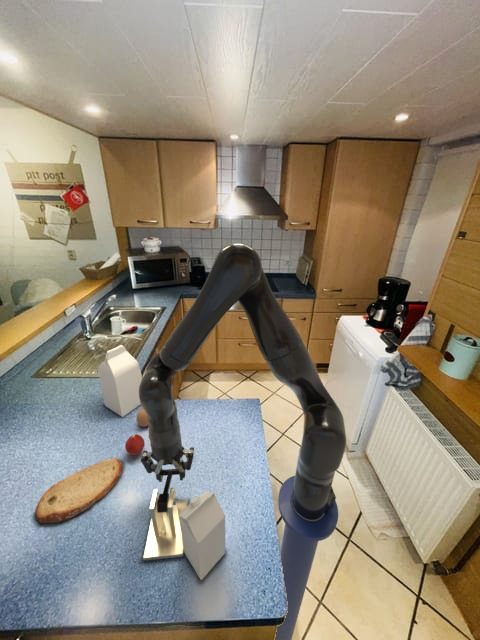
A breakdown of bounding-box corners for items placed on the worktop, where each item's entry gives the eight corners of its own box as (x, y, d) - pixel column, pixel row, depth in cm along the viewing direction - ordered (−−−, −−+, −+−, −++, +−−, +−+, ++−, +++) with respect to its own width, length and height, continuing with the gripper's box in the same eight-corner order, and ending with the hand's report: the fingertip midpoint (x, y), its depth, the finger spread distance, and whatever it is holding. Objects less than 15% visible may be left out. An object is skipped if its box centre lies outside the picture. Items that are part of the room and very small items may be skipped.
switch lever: (162, 474, 70) (161, 466, 70) (180, 473, 70) (180, 465, 70) (151, 513, 58) (150, 504, 58) (173, 511, 58) (172, 502, 58)
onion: (124, 452, 83) (120, 435, 80) (140, 442, 87) (137, 425, 84) (131, 464, 80) (127, 446, 76) (148, 452, 84) (145, 435, 80)
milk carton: (225, 553, 60) (225, 504, 52) (201, 581, 55) (196, 532, 47) (207, 527, 64) (204, 480, 57) (183, 551, 60) (176, 503, 52)
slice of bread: (127, 461, 80) (125, 453, 79) (96, 526, 64) (93, 518, 63) (72, 459, 81) (69, 451, 79) (27, 523, 64) (22, 515, 63)
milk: (122, 417, 97) (109, 360, 87) (104, 405, 103) (90, 351, 92) (147, 399, 107) (138, 346, 96) (130, 389, 112) (120, 338, 101)
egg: (154, 426, 93) (151, 412, 90) (138, 432, 91) (136, 417, 88) (151, 416, 98) (149, 403, 95) (137, 421, 95) (134, 407, 93)
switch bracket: (154, 505, 69) (148, 474, 64) (187, 502, 70) (184, 471, 65) (143, 560, 58) (135, 529, 53) (182, 556, 59) (178, 525, 54)
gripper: (194, 421, 67) (198, 463, 74) (140, 424, 66) (148, 467, 73) (192, 445, 61) (196, 489, 68) (131, 449, 59) (141, 494, 66)
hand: (171, 477), depth 70 cm, fingers closed on switch lever, 5 cm apart
